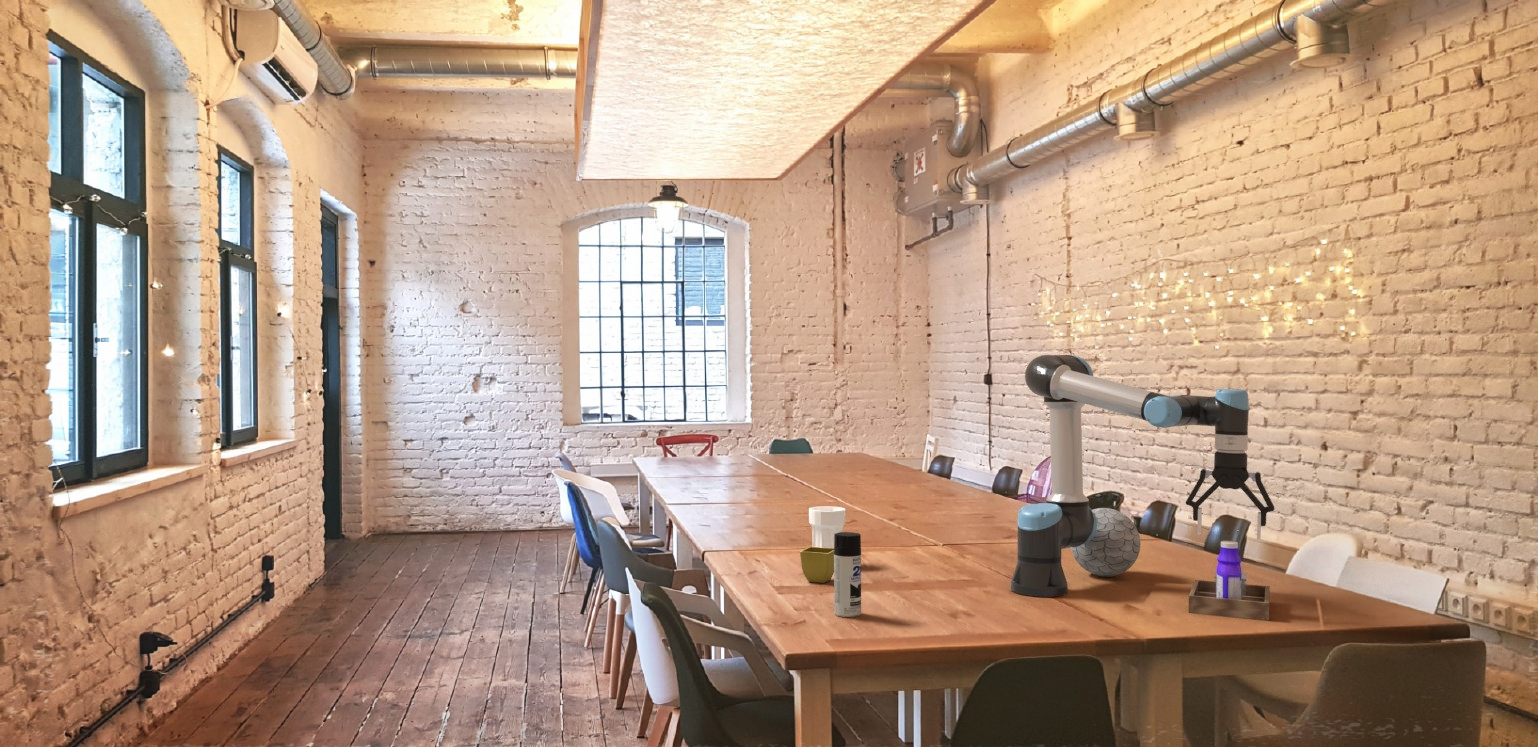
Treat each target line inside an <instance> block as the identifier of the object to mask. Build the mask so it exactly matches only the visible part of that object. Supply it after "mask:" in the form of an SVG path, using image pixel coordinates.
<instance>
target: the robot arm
mask: <svg viewBox="0 0 1538 747" xmlns="http://www.w3.org/2000/svg"><path fill="white" fill-rule="evenodd" d="M1024 379H1025V384H1026V386H1027V388H1029V390H1030V391H1031V392H1032V393H1033V394H1034V395H1037V396H1040V397H1043V404H1044V405H1045V406H1046V407H1048V410H1049V437H1050V438H1049V439H1050V440H1049V442H1050V443H1049V444H1050V477H1051V479H1050V481H1051V482H1050V483H1051V489H1050V490H1051V493H1050V494H1049V496H1048V497H1046V498H1045V499H1046V500H1045V502H1039V503H1029V504H1026V505H1023V506H1022V507H1021V508H1020V509H1019V510H1018V513H1017V515H1018V516H1017V521H1016V524H1017V525H1016V526H1017V562H1016V566H1015V568H1014V571H1013V574H1012V577H1011V580H1010V591H1011V592H1013V593H1016V594H1021V595H1023V596H1031V597H1041V598H1043V597H1044V598H1045V597H1060V596H1065V595H1067V594H1068V593H1069V589H1068V587H1069V585H1068V581H1067V578H1066V575H1065V572H1064V569H1063V564H1062V550H1064V549H1069V548H1070V549H1071V547H1073V548H1074V547H1078V546H1081V545H1083V544H1085V543H1087V542H1089V541H1090V540H1091V539H1092V538H1093V536H1094V535H1095V533H1096V529H1097V519H1096V515H1095V513H1093V512H1092V510H1093V509H1092V508H1091V507H1090V500H1089V498H1088V497H1087V496H1086V495H1085V494H1084V481H1083V480H1084V479H1083V477H1084V476H1083V475H1084V474H1083V440H1082V439H1083V437H1082V436H1083V435H1082V431H1083V430H1082V408H1083V407H1084V406H1085V405H1089V406H1092V407H1096V408H1099V409H1103V410H1108V411H1110V412H1114V413H1117V414H1121V415H1125V416H1128V417H1130V418H1131V417H1132V418H1134V419H1138V420H1143V421H1145V422H1148V423H1149V424H1150V425H1151V426H1153V427H1157V428H1164V429H1167V428H1168V429H1169V428H1172V427H1182V426H1185V427H1186V426H1188V427H1189V426H1205V427H1214V449H1215V450H1216V451H1215V452H1214V460H1213V470H1208V469H1205V468H1201V470H1200V473H1199V479H1198V480H1197V482H1196V484H1195V485H1194V487H1193V488H1192V490H1191V492H1190V494H1189V495H1188V497H1187V499H1186V501H1185V504H1186V505H1187V506H1189V507H1192V520H1193V522H1194V521H1196V522H1197V536H1201V534H1202V520H1203V519H1202V518H1203V517H1202V516H1203V507H1200V506H1201V505H1202V504H1203V503H1204V502H1205V501H1206V500H1207V499H1208V498H1209V497H1210V496H1211V495H1212V494H1213V493H1215V491H1216V490H1217V489H1218V488H1219V487H1220V488H1222V489H1223V490H1225V489H1226V490H1228V489H1230V490H1235V491H1236V490H1239V489H1241V491H1242V492H1244V493H1245V495H1246V496H1247V497H1248V498H1249V500H1250V501H1251V502H1252V503H1253V504H1254V506H1256V508H1257V509H1258V510H1259V511H1258V512H1257V524H1256V525H1257V527H1256V529H1257V530H1256V540H1257V541H1260V540H1261V538H1262V537H1261V532H1262V531H1261V530H1262V529H1261V528H1262V527H1266V526H1267V525H1266V524H1267V513H1269V512H1270V513H1271V512H1274V511H1275V505H1274V504H1273V502H1272V499H1271V497H1270V495H1269V493H1268V491H1267V490H1266V487H1265V486H1264V483H1263V481H1262V475H1261V472H1260V471H1256V472H1249V471H1248V454H1247V451H1248V450H1249V449H1248V448H1249V446H1248V445H1249V444H1248V443H1249V442H1248V441H1249V432H1248V431H1249V430H1248V429H1249V413H1250V412H1249V410H1250V405H1249V404H1250V403H1249V393H1248V392H1247V391H1246V390H1244V389H1234V388H1233V389H1232V388H1231V389H1228V388H1227V389H1225V388H1221V389H1220V388H1219V389H1217V390H1216V391H1215V396H1203V395H1192V394H1191V395H1189V394H1180V395H1177V394H1175V395H1166V394H1161V393H1158V392H1154V391H1150V390H1147V389H1143V388H1139V387H1135V386H1131V385H1128V384H1125V383H1120V382H1117V381H1113V380H1108V379H1105V378H1102V377H1097V376H1094V371H1093V369H1092V367H1091V365H1090V364H1089V363H1088V362H1087V361H1086V359H1084V358H1082V357H1080V356H1076V355H1072V354H1042V355H1039V356H1036V357H1035V358H1033V359H1032V360H1031V361H1029V363H1028V364H1027V366H1026V369H1025V373H1024ZM1210 476H1212V478H1213V479H1214V480H1215V482H1213V484H1212V485H1211V486H1210V487H1208V489H1207V490H1206V491H1205V492H1204V493H1203V494H1202V495H1201V496H1200V497H1199V498H1198V499H1197V500H1196V501H1194V500H1195V497H1196V495H1197V493H1198V492H1199V490H1200V489H1201V486H1203V483H1204V481H1205V480H1206V479H1209V477H1210ZM1249 478H1250V480H1252V482H1255V484H1256V486H1257V489H1258V491H1259V492H1260V494H1261V496H1262V498H1263V500H1264V501H1265V504H1266V506H1264V504H1263V503H1262V502H1261V500H1259V498H1258V497H1257V495H1256V494H1254V492H1253V491H1252V490H1251V489H1250V488H1249V486H1248V485H1247V484H1246V482H1247V480H1248V479H1249Z"/></svg>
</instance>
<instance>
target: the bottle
mask: <svg viewBox="0 0 1538 747" xmlns="http://www.w3.org/2000/svg"><path fill="white" fill-rule="evenodd" d="M1219 550H1220V551H1219V553H1218V556H1217V557H1216V561H1217V566H1216V570H1215V573H1216V572H1217V592H1216V598H1226V599H1237V600H1241V576H1242V573H1243V572H1242V567H1241V563H1242V558H1241V556H1240V553H1239V542H1238V541H1232V540H1221V541H1220V549H1219Z"/></svg>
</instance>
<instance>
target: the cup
mask: <svg viewBox="0 0 1538 747" xmlns="http://www.w3.org/2000/svg"><path fill="white" fill-rule="evenodd" d="M846 511H847V510H846V508H844V507H839V506H830V505H829V506H827V505H825V506H824V505H823V506H813V507H812V506H811V507H809V508H808V522H809V525H810V526H811V534H812V535H811V536H812V537H811V538H812V539H811V540H812V541H811V542H812V544H811V545H812V547H821V548H834V534H836V533H839V532H843V527H844V525H845V523H846V514H847V513H846Z"/></svg>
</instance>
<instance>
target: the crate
mask: <svg viewBox="0 0 1538 747" xmlns="http://www.w3.org/2000/svg"><path fill="white" fill-rule="evenodd" d="M1215 581H1216V580H1215ZM1215 581H1214V580H1213V581H1212V580H1203V579H1194V581H1193V584H1192V586H1191V589H1190V592H1189V594H1188V614H1194V615H1195V614H1196V615H1205V616H1215V617H1216V616H1217V617H1225V618H1236V619H1245V620H1256V621H1266V622H1269V621H1270V598H1271V596H1270V590H1271V589H1270V588H1271V587H1270V586H1269V585H1261V584H1260V585H1259V584H1250V583H1249V584H1248V583H1246V596H1241V600H1237V599H1226V598H1216V593H1215Z"/></svg>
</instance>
